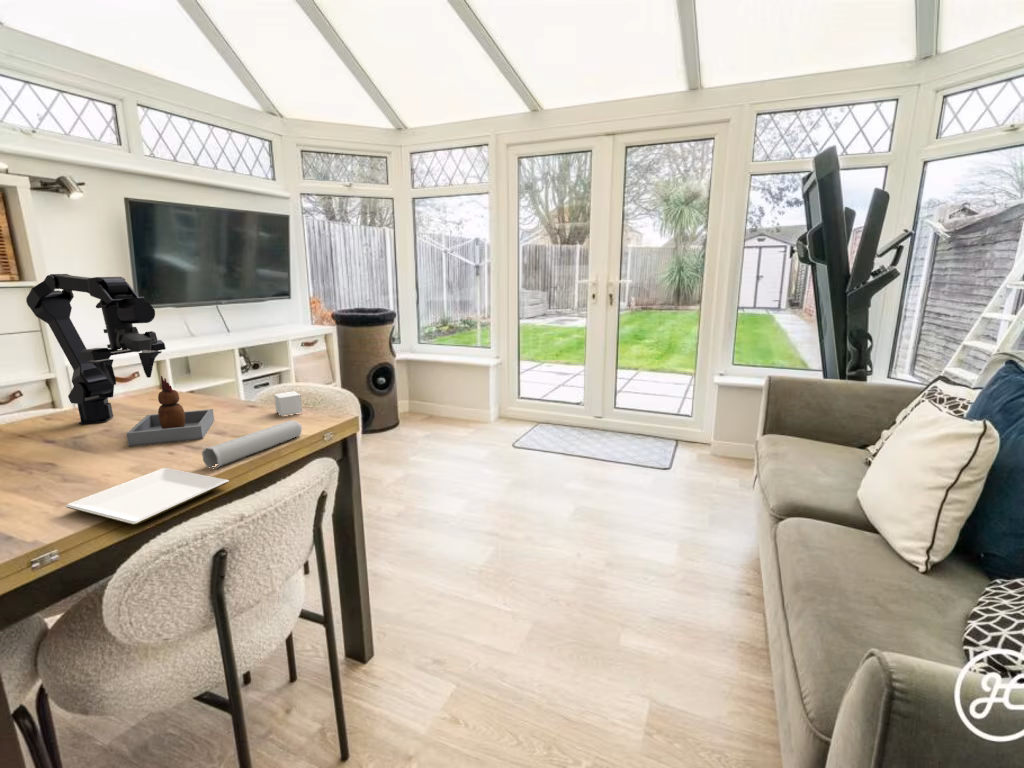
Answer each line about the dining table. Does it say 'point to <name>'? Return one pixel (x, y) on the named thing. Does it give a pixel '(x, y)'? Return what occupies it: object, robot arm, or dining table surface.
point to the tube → (250, 444)
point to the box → (170, 429)
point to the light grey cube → (288, 403)
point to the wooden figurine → (170, 407)
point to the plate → (147, 495)
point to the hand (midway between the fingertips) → (132, 380)
